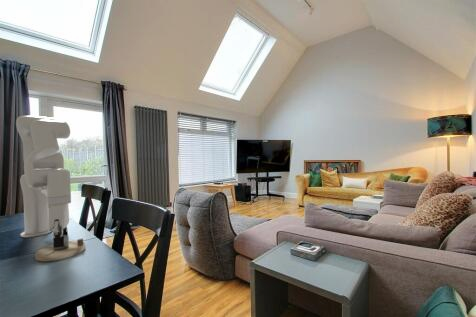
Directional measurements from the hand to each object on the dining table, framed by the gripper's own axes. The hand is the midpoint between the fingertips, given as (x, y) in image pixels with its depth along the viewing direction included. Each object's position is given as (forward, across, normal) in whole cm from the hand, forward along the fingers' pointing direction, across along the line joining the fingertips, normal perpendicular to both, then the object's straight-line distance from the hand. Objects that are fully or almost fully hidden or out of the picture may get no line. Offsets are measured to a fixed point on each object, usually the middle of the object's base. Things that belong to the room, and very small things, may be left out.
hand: (61, 243), depth 93 cm
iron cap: (+2, 0, 0) cm, 2 cm away
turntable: (+4, 0, 0) cm, 4 cm away
